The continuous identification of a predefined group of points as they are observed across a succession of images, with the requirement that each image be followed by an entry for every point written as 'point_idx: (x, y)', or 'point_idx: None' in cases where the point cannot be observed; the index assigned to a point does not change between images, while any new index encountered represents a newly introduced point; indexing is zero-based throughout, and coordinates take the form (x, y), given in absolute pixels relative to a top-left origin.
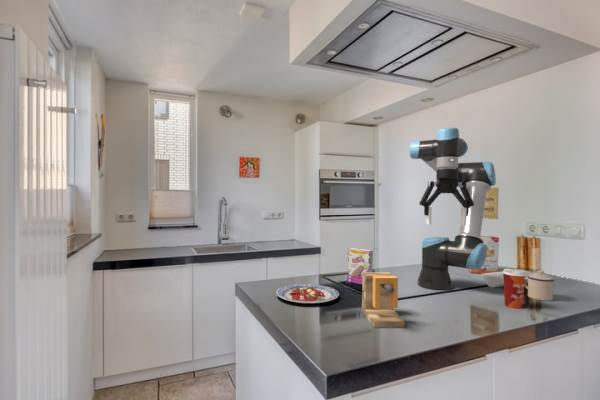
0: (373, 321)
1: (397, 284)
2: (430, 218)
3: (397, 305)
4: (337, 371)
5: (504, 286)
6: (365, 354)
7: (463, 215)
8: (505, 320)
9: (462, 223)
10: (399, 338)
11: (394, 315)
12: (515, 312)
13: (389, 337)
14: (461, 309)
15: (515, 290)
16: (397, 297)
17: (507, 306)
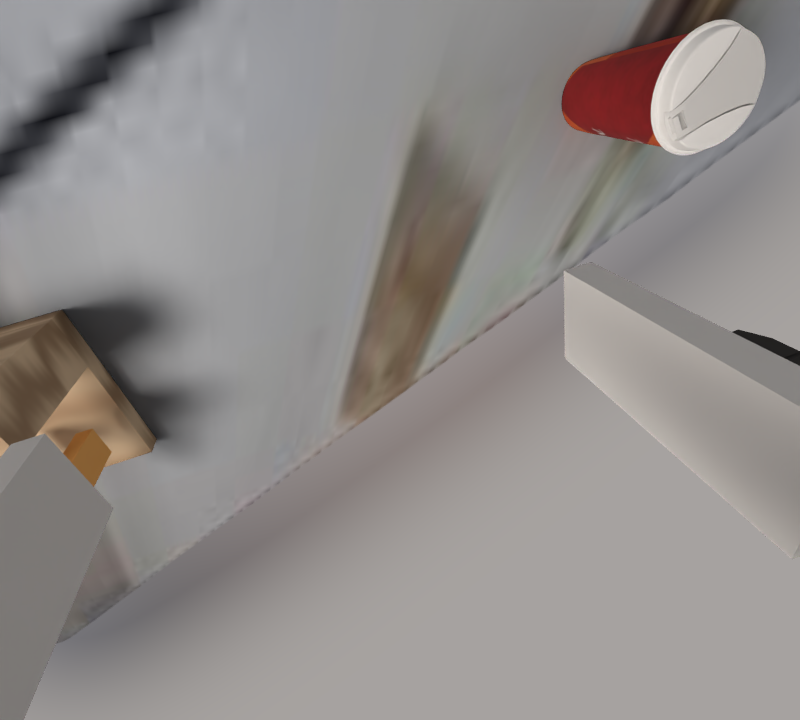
0: None
1: None
2: (63, 596)
3: (107, 458)
4: (68, 637)
5: (610, 93)
6: (96, 581)
7: (657, 414)
8: (472, 286)
9: (574, 322)
10: (154, 500)
11: (107, 419)
12: (549, 187)
13: (127, 504)
14: (362, 208)
15: (624, 139)
16: (96, 479)
17: (562, 110)
